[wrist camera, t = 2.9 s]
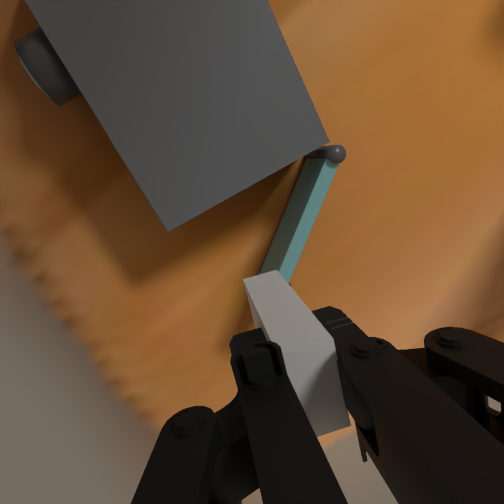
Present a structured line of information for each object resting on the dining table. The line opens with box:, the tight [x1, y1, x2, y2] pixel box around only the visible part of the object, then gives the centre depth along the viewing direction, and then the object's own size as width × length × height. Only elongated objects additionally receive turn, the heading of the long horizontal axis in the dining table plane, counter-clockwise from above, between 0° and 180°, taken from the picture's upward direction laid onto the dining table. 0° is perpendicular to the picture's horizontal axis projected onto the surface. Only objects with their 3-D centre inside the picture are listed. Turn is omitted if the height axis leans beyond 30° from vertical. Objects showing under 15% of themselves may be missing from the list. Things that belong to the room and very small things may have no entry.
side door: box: [259, 145, 346, 286], centre depth 29 cm, size 2×13×5 cm, turn 158°
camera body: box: [14, 0, 330, 232], centre depth 24 cm, size 18×14×6 cm
